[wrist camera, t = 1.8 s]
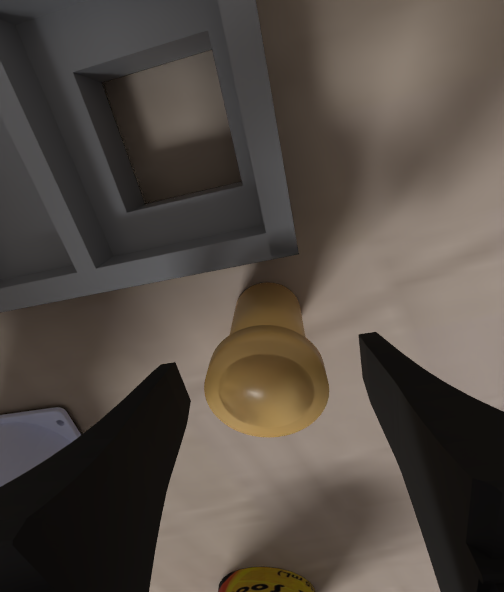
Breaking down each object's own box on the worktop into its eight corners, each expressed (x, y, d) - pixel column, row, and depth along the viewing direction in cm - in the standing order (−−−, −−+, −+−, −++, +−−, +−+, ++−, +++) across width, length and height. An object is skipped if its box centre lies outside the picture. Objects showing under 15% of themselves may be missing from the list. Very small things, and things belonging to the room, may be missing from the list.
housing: (292, 230, 15) (298, 254, 11) (-36, 298, 17) (-104, 332, 14) (242, -61, 11) (230, -148, 7) (-178, 86, 13) (-320, 67, 10)
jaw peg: (315, 340, 17) (335, 430, 12) (237, 352, 18) (222, 443, 12) (303, 265, 15) (320, 330, 10) (216, 281, 16) (188, 352, 11)
